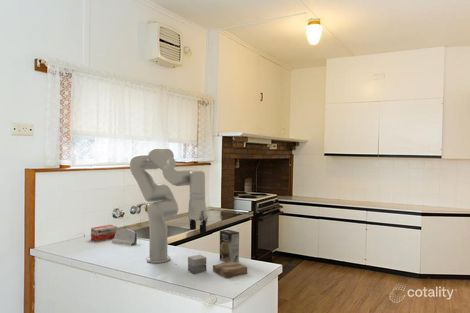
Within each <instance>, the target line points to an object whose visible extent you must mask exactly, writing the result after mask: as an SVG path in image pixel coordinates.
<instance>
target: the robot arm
mask: <svg viewBox="0 0 470 313" xmlns="http://www.w3.org/2000/svg"><path fill="white" fill-rule="evenodd" d="M174 157H175V156H174V152H173V151H172V149H170V148H167V147H166V148H165V147H163V148H162V147H161V148H160V147H156V148H152V149H150V150H149V151H148V153H147V154H136V155H134V156H132V157H131V159H130V162H129V169H130V172H131V175H132V176H133V178H134V179H135V181H136V183H137V185H138V187H139V190H140V192H141V194H142V196H143V198H144V200H145V201H146V202H148V203H150V204H149V205H148V207H147V216H148V224H149V231H148V232H149V252H148V253H149V256H147V257H146V262H147V263H151V264H162V263H166V262H169V261H170V260H171V256H170V255H168V224H167V222H166V221H165V219H167V218H172V217H175V216H177V215H178V213H179V205H178V202H177V201H176V198H175V196H174V194H173V192H172V190H171V188H170V187H169V186H168V185H167V184H165V183H156V182H155V180H154V179H153V177H152V175H151V174H150V173H148V171H147V170H157V169H160V170H162V175H163V178H164V179H165V180H166V181H167V182H168V183H169V184H171V185H172V186H175V187H182V186H189V201H188V212H187V214H188V220H189V221H188V222H189V230H190V231H195V230H196V229H197V222H198V221H199V233H200V234H205V233H207V224H208V218H209V216H208V215H207V206H206V205H207V204H206V180H205V179H206V174H205V171H202V170H190V169H189V170H187V169H186V170H176V169H175V168H176V164H177V161H176V159H175V158H174Z"/></svg>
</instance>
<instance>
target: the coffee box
mask: <svg viewBox="0 0 470 313" xmlns="http://www.w3.org/2000/svg"><path fill="white" fill-rule="evenodd" d="M239 259H240V232H239V231H235V230H232V229H223V230H220V231H219V261H220V262H223V263H227V262H231V261H234V262H236V263H239V262H240V260H239Z"/></svg>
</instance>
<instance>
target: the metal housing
mask: <svg viewBox="0 0 470 313" xmlns="http://www.w3.org/2000/svg"><path fill="white" fill-rule="evenodd" d="M187 271H188V272H189V273H191V274H193V275H197V274H201V273H206V272H207V256H204V255H202V254H196V255H192V256H191V255H190V256H187Z"/></svg>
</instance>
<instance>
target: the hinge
mask: <svg viewBox="0 0 470 313" xmlns="http://www.w3.org/2000/svg"><path fill="white" fill-rule="evenodd" d="M138 235H139V233H138V232H137V231H134V230H132V229H128V228H122V229H121V228H120V229H117V231H116V234H115V237H114V238H112V240H111V244H116V243H118V245H123V244H125V245H124V246H130V245H136V244H137V241H138Z"/></svg>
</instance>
